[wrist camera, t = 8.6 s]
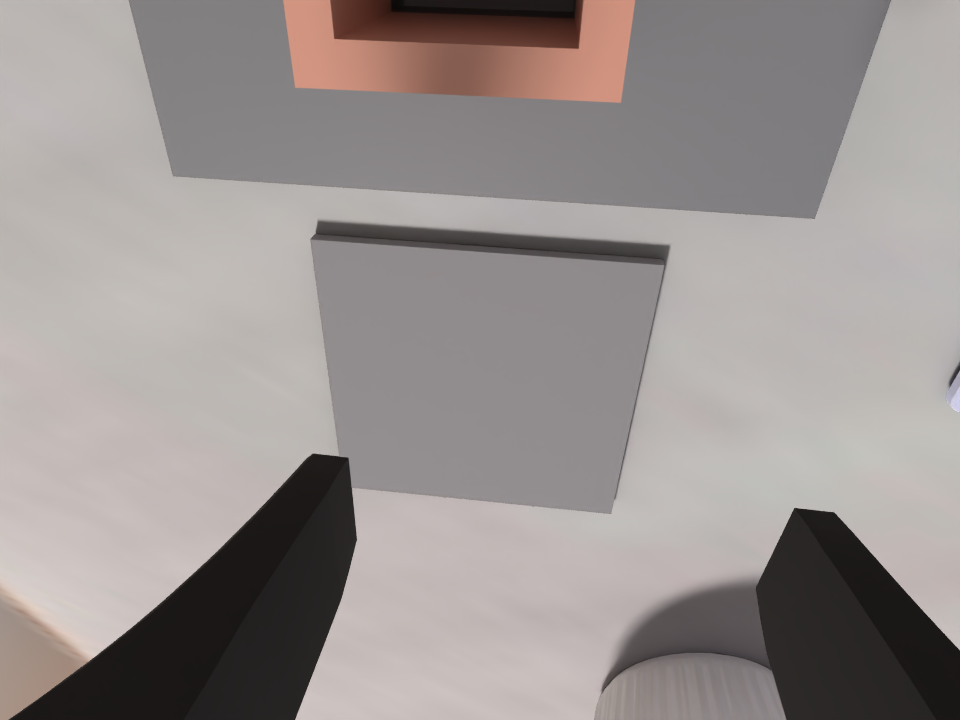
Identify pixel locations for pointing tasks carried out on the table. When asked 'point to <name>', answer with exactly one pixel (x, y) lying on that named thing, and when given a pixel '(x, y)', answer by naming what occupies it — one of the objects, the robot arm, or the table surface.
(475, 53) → the sleeve
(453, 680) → the table surface
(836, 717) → the robot arm
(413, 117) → the pin board
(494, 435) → the mat
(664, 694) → the ramekin
